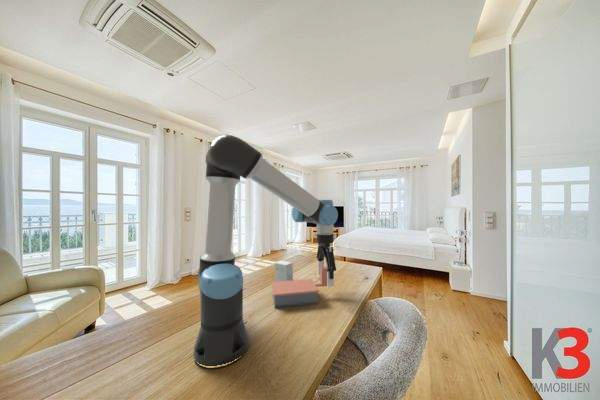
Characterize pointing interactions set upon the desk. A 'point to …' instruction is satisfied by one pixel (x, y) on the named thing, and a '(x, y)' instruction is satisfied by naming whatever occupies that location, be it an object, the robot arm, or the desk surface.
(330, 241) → the robot arm
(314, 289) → the lid
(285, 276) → the small box
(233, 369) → the desk surface
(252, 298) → the desk surface
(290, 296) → the tub
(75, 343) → the desk surface
